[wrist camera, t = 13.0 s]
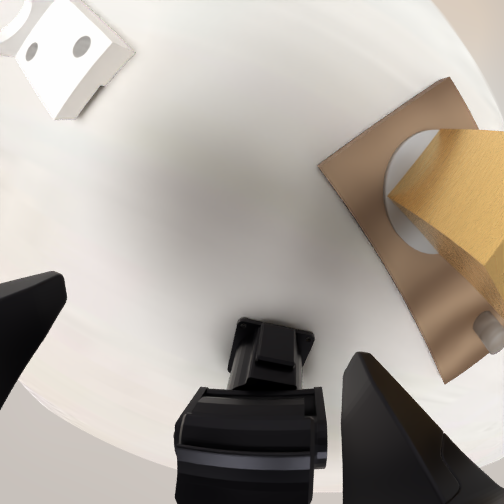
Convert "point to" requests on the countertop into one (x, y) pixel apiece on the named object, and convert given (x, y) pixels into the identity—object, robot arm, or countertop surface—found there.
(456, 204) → the gold square tube
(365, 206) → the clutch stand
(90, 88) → the bracket
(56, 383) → the countertop surface
